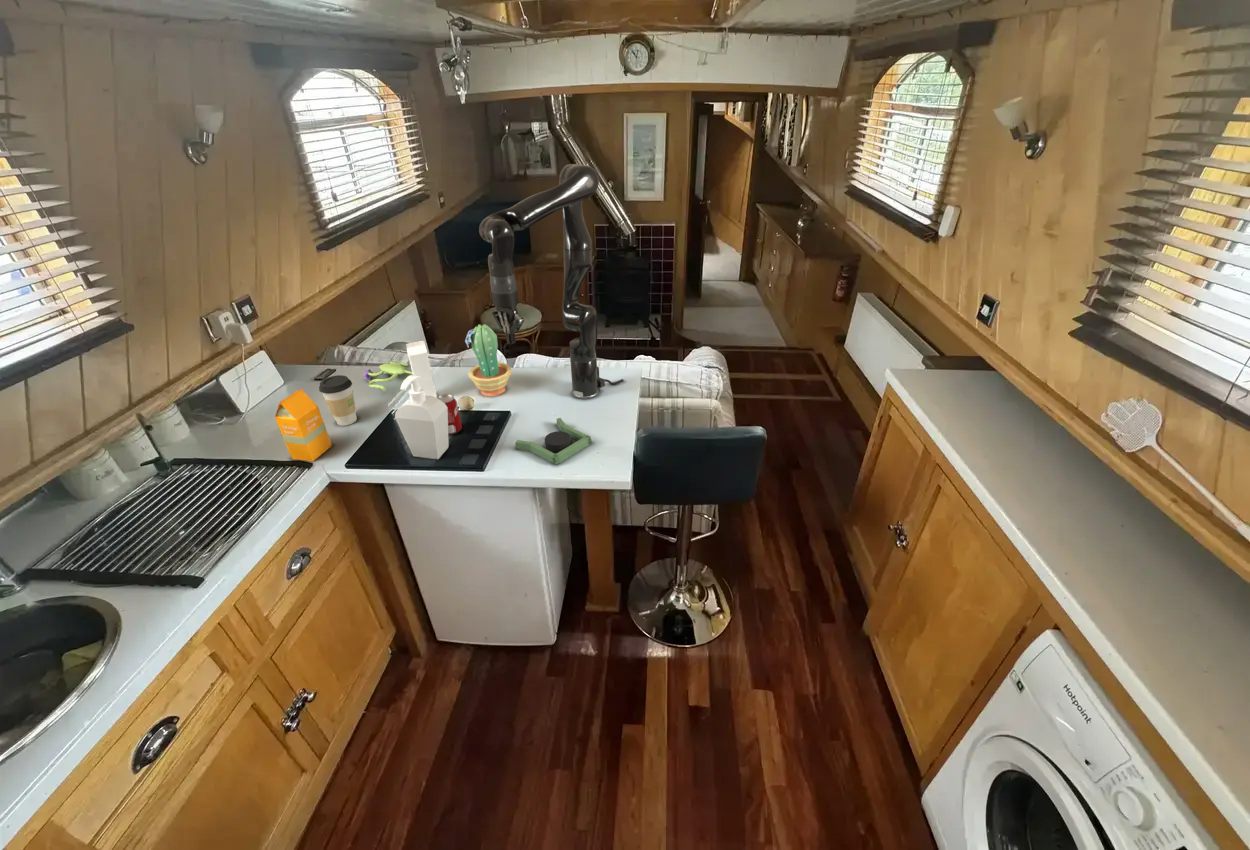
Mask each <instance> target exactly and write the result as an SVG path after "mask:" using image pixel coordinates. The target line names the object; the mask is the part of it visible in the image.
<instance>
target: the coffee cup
mask: <svg viewBox="0 0 1250 850" xmlns="http://www.w3.org/2000/svg"><path fill="white" fill-rule="evenodd" d="M352 385H353V382H352V380H351V379H350V378H349V377H348V376H346V375H342V374H341V375H338V374H336V375H331V376H328V377H326V378H324V379H322V380H321V381H320V382H319V386H318V390H319V392H320V393H321V394H322V396H323V399H324V401H325V404H326V405H327V407H328V409H329V411H330V413H331V415H332V416H333V418H334V420H335V422H336V424H337V425H338V426H350V425H351V424H354V423H356V421H357V420H358V418H357V417H358V416H357V412H356V411H357V410H356V403H355V397H354V391H353V389H352Z"/></svg>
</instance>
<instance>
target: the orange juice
mask: <svg viewBox="0 0 1250 850" xmlns="http://www.w3.org/2000/svg"><path fill="white" fill-rule="evenodd" d="M274 419H275V421H276V424H277V426H278V429H279V431H280V433H281V436H282V439H283V442H284V444H285V447H286V449H287V451H288V453H289V456H290V458H291V459H292V460H300V461H306V462H307V461H308V462H314V461H315V460H316V459H318V458H319V457H320V456H322V454H324V453H325V452H326V451H327V450H329V449H330V448H331V447H332V442H331V440H330V436H329V434H328V431H327V427H326V424H325V422H324V419H323V417H322V414H321V411H320V409H319V406H318V405H317V404H316V403H315V402H314V400H312V399H311V398H310V396H309V395H308V394H306V392H305V391H304V390H303V388H299V389H298V390H296V391H294V392H292V394H290V395H288V396H287V397H286V398H283V399H282V400H280V401H279V403H278V406H277V409H276V412H275V416H274Z"/></svg>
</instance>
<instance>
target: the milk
mask: <svg viewBox="0 0 1250 850" xmlns="http://www.w3.org/2000/svg"><path fill="white" fill-rule="evenodd" d="M405 347H406V353H407V356H408V362H409V366H410V369H411V372H412V374H413V375H416V376H423V378H419V379H417V380H418V384H419V387H420V388H423V389H424V393H425V395H429V396H433V397H435V398H437V397H438V395H437V390H436V386H435V382H434V381H435V380H434V376H433V371H432V367H431V363H430V357H429V354H428V350H427V346H426V342H425V340H419V341H413V342H409V343H406V344H405Z"/></svg>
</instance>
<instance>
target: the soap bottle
mask: <svg viewBox="0 0 1250 850" xmlns="http://www.w3.org/2000/svg"><path fill="white" fill-rule="evenodd" d="M419 378H423V376H416V375H411V374H409V375H408V376H407V377H405V379H404V380H403V381H402V383H401V385H400V388H399V390H400V391H404V392H405V391H406V390H407V388H408V387H410V386H411V388H410V389H409V390H408V394H409V398H408V400H406V401H405V402H404V403H403V404H401V406H400V407H398V409H397V410H396V411H395V414H394V419H395V421H396V423H397V425H398V427H399V430H400V432H401V433H402V436H403V438H404V440H405V442H406V444H407V446H408V448H409V451H410V453H411V455H412V457H416V458H422V459H423V458H424V459H432V460H439V459H441V457H442V456H443V454H444V453H445V452H446V451H447V450H448V449H449V435H448V407H447V406H446V405H445V403H443V402H442V401H441V400H439V399H438V398H435V397H433V396H429V395H425V393H424V389H423V388H420V387H419V384H418V380H417V379H419Z"/></svg>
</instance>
